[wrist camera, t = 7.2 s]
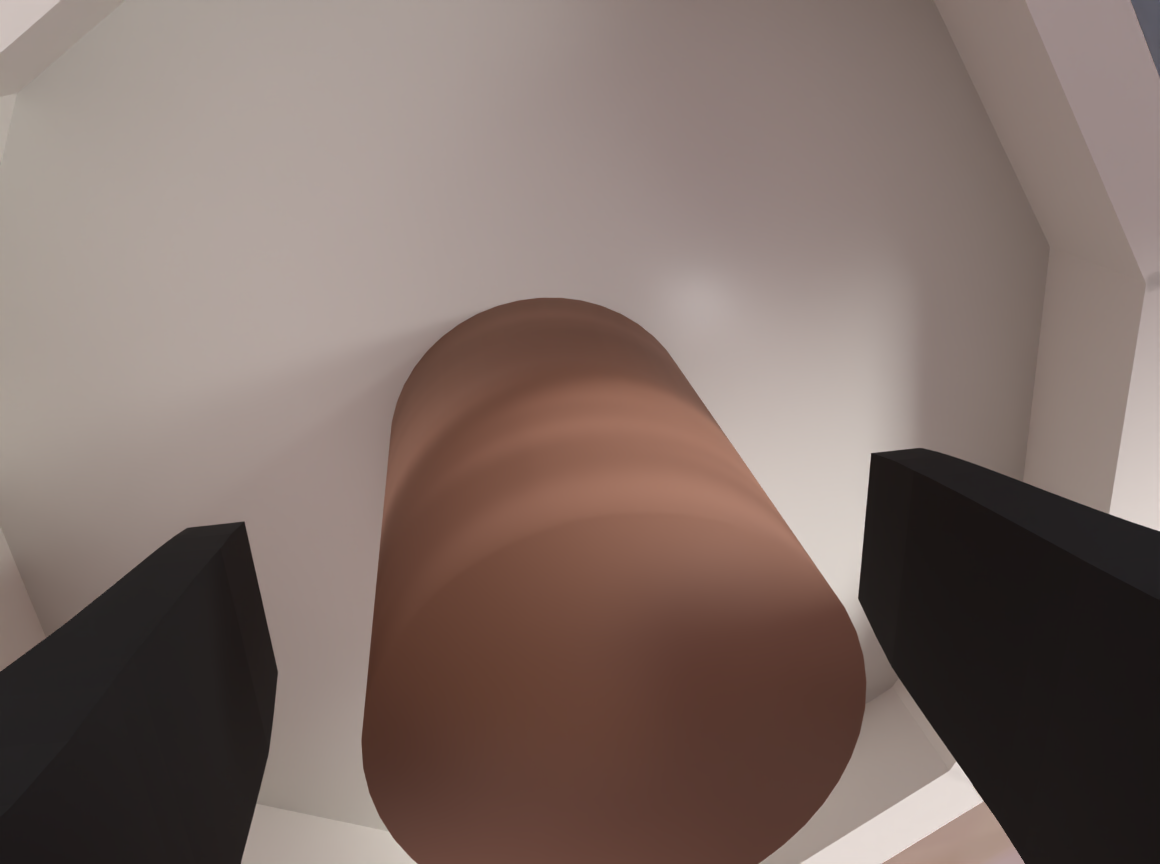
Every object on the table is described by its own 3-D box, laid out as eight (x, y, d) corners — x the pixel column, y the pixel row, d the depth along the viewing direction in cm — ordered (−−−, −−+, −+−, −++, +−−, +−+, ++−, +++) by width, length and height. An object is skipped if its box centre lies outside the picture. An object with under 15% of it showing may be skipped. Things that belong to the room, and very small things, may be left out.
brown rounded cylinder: (567, 230, 12) (675, 403, 7) (752, 454, 14) (952, 731, 9) (322, 437, 13) (245, 742, 8) (527, 626, 15) (584, 984, 9)
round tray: (715, -646, 10) (808, -860, 7) (1217, 497, 17) (1347, 578, 14) (-410, 346, 12) (-618, 430, 9) (451, 984, 19) (454, 1124, 16)
